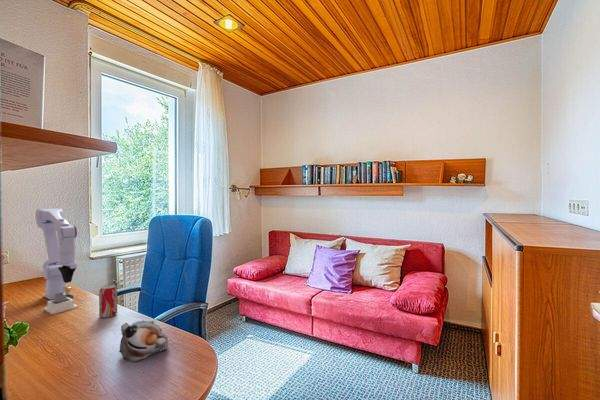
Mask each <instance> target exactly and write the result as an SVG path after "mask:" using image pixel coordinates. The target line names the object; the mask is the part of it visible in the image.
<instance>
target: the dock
mask: <svg viewBox="0 0 600 400" xmlns="http://www.w3.org/2000/svg"><path fill="white" fill-rule="evenodd" d="M78 308H79V306H78V305H77V304H76V303H75V300H74V295H73V294H71V293H70V296H69V297H66V302H62V303H58V304H55V299H52V300H48V301H47V306H45V307H43V310H44V311H46V312H47V313H48V314H50V315H55V314H59V313H62V312H66V311H70V310H74V309H78Z"/></svg>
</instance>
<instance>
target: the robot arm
mask: <svg viewBox="0 0 600 400" xmlns="http://www.w3.org/2000/svg"><path fill="white" fill-rule="evenodd" d="M35 221H36V225H37V228H40V229H42V232H43V236H44V242H45V247H46V252H47V256H48V259H47V260H46V261H45V262H44V263H43V264H42V277H43V279H45V280H46V281H45V294H43V297H44V298H45V299H48V300H49V301H52V300H55V294H58V293H65V290H63V288H64V287H68V283H71V282H72V279H73V276H74V274H75V271H76V269H77V263H76V245H75V244H76V238H77V236H78V228H77V227H76V225H71V224H70V223H69V222H68V220H67V219H65V218H64V212H63V209H62V208H61V207H58V208H57V207H56V208H37V209H36V210H35Z"/></svg>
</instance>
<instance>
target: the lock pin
mask: <svg viewBox="0 0 600 400" xmlns="http://www.w3.org/2000/svg"><path fill="white" fill-rule="evenodd" d="M72 289H73V286H71V285H67V287H64V288H63V290H65V293H66V297H69V296H70V294H71V290H72Z"/></svg>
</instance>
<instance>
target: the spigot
mask: <svg viewBox="0 0 600 400" xmlns="http://www.w3.org/2000/svg"><path fill="white" fill-rule="evenodd" d="M54 300H55V304H58V303H62V302H66V293H58V294H55V299H54Z"/></svg>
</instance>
